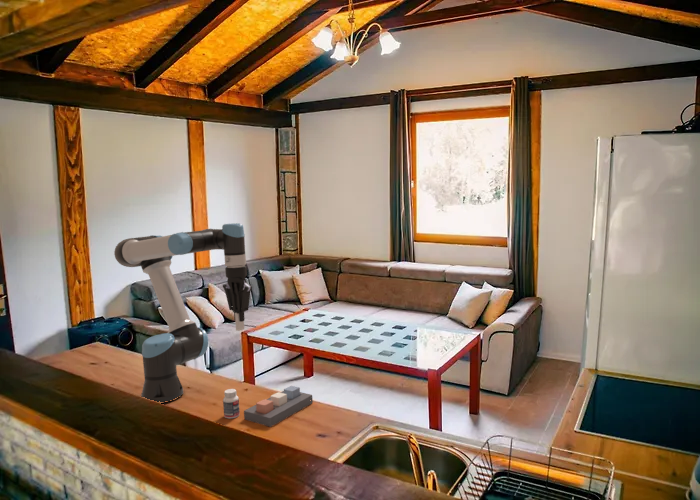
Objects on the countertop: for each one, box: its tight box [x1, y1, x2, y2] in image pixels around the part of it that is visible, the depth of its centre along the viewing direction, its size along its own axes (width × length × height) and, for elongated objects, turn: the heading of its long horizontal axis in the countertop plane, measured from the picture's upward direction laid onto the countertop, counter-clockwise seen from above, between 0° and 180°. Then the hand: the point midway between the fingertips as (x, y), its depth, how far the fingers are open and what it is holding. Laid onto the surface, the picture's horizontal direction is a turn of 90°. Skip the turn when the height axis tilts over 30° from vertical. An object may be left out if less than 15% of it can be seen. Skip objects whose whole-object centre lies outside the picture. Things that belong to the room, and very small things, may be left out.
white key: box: [269, 391, 287, 407], centre depth 182 cm, size 4×4×4 cm
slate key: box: [283, 385, 301, 399], centre depth 188 cm, size 4×4×4 cm
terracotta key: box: [255, 398, 274, 414], centre depth 176 cm, size 4×4×4 cm
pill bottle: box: [222, 388, 240, 420], centre depth 180 cm, size 5×5×9 cm
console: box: [243, 390, 314, 428], centre depth 182 cm, size 12×22×3 cm, turn 146°
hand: (240, 329), depth 192 cm, fingers closed
